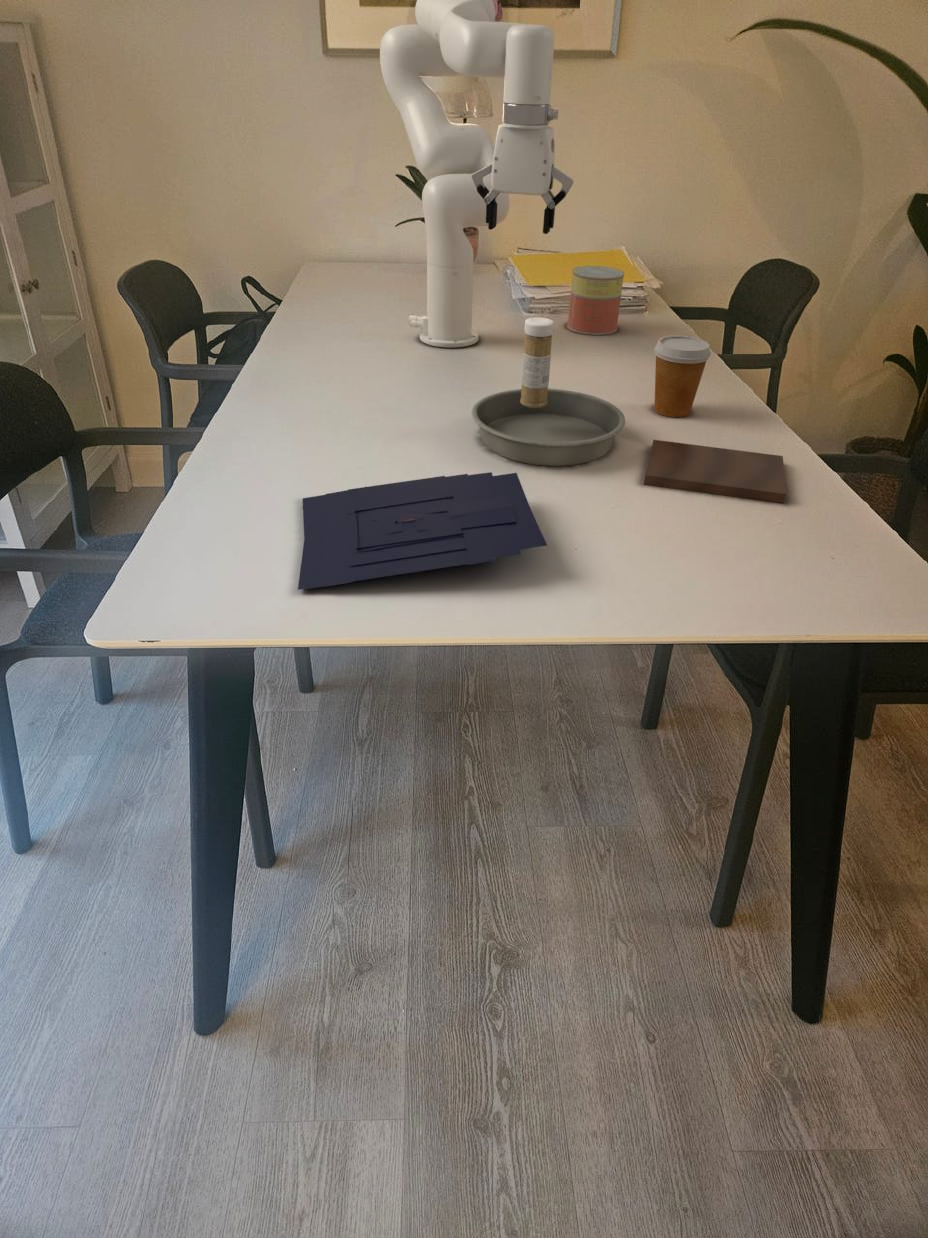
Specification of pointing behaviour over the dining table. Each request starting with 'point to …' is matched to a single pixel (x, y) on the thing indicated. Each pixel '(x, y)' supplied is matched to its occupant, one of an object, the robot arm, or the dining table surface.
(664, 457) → the walnut serving board
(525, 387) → the sprinkles bottle
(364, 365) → the dining table surface
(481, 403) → the cake pan
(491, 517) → the papers
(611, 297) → the canned food
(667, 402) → the disposable coffee cup
